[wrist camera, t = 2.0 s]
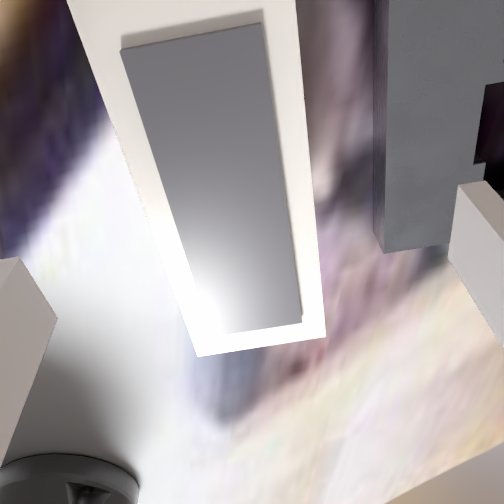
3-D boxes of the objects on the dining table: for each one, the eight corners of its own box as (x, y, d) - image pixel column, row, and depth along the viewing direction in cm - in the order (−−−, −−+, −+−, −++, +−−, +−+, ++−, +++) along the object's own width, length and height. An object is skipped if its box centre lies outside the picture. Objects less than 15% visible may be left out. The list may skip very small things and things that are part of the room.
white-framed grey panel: (203, 232, 29) (197, 361, 21) (125, -43, 20) (61, -2, 12) (296, 216, 29) (327, 342, 21) (261, -71, 20) (292, -48, 11)
